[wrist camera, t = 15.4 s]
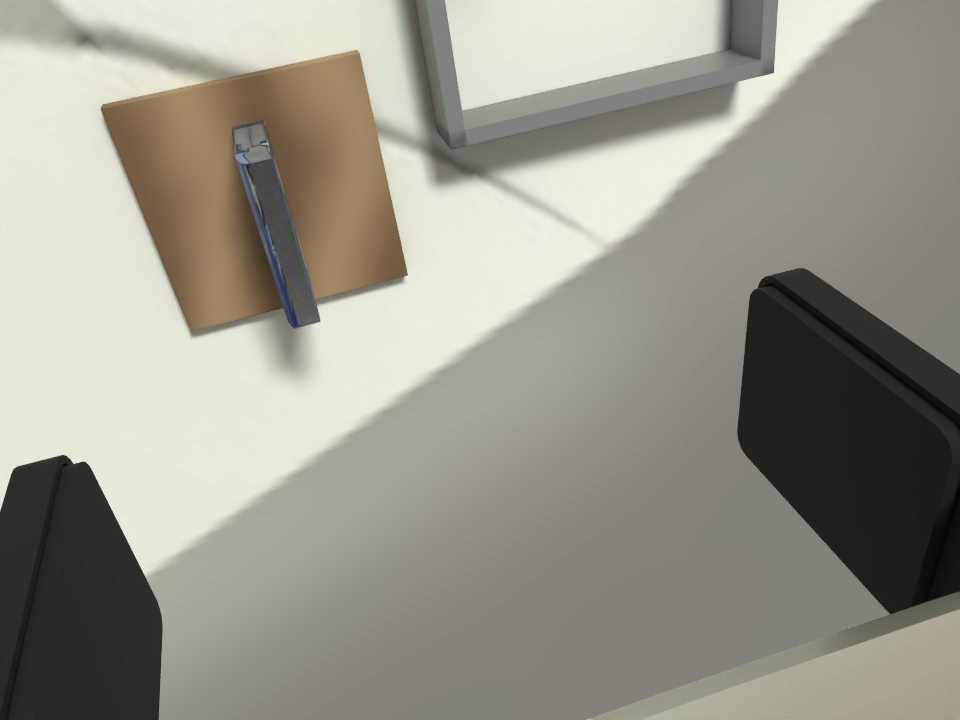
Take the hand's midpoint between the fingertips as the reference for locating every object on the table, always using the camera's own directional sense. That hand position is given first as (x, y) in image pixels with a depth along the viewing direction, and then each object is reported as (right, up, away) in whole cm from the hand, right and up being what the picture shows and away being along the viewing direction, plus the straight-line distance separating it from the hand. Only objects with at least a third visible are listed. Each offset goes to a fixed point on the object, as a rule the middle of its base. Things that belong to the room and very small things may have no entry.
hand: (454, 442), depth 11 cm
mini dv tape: (-10, +9, +30) cm, 33 cm away
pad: (-10, +10, +30) cm, 33 cm away
